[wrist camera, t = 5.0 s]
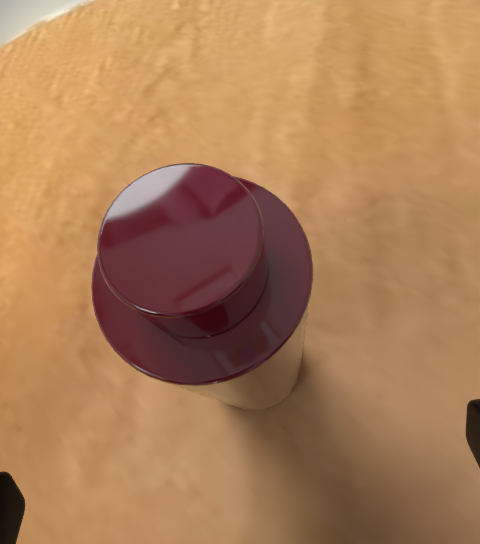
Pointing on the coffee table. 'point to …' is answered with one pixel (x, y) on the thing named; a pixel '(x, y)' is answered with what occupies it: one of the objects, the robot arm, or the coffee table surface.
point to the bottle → (205, 284)
